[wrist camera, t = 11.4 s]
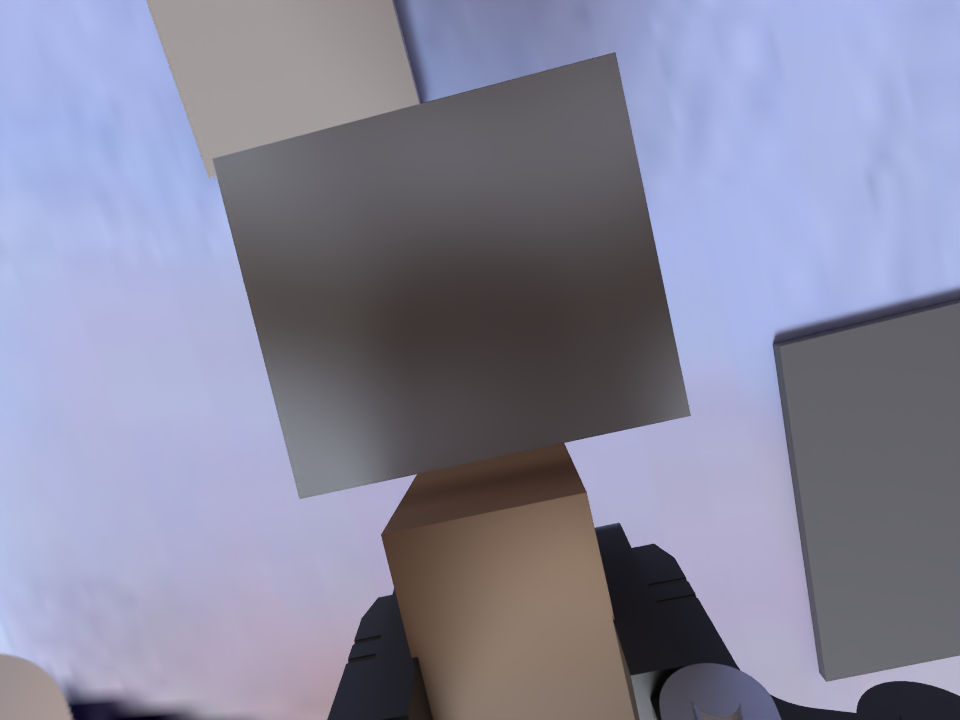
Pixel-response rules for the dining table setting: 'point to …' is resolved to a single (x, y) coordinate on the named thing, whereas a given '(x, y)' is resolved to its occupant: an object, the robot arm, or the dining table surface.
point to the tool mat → (878, 486)
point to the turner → (469, 362)
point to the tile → (281, 67)
